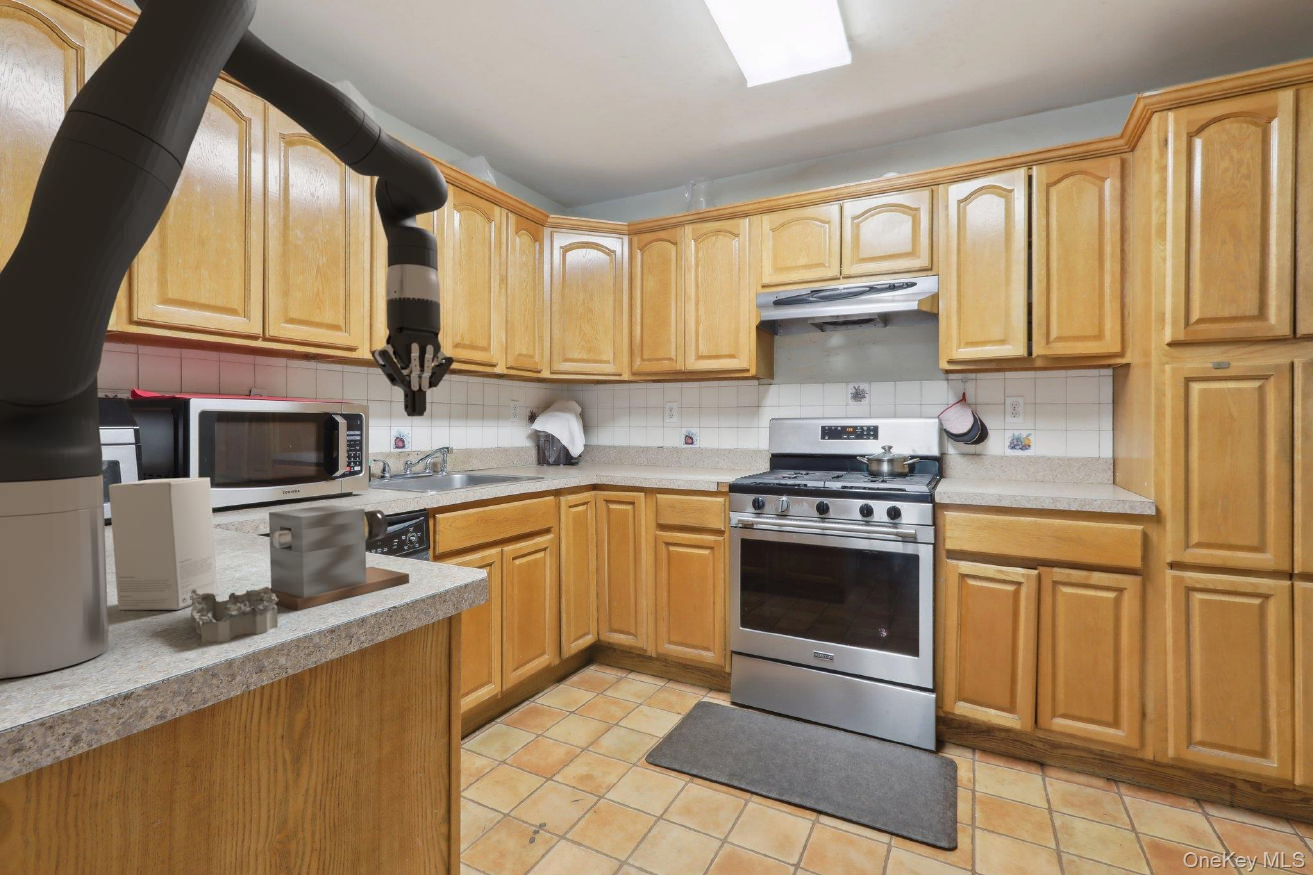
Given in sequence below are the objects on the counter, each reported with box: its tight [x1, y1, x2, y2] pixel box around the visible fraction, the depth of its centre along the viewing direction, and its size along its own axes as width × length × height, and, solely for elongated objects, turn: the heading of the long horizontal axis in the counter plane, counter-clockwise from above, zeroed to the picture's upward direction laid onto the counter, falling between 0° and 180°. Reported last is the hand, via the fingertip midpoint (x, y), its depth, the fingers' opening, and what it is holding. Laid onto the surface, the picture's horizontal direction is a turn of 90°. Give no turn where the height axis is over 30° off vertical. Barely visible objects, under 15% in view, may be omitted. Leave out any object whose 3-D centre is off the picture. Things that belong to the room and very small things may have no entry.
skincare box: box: [108, 477, 219, 611], centre depth 77 cm, size 8×7×16 cm
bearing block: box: [268, 504, 410, 611], centre depth 82 cm, size 15×9×11 cm, turn 147°
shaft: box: [273, 509, 389, 548], centre depth 82 cm, size 14×4×4 cm, turn 147°
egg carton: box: [190, 586, 279, 643], centre depth 68 cm, size 11×8×4 cm
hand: (415, 416), depth 93 cm, fingers closed
